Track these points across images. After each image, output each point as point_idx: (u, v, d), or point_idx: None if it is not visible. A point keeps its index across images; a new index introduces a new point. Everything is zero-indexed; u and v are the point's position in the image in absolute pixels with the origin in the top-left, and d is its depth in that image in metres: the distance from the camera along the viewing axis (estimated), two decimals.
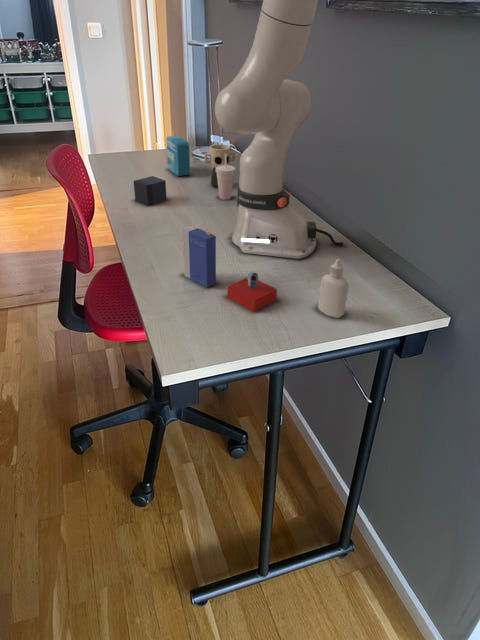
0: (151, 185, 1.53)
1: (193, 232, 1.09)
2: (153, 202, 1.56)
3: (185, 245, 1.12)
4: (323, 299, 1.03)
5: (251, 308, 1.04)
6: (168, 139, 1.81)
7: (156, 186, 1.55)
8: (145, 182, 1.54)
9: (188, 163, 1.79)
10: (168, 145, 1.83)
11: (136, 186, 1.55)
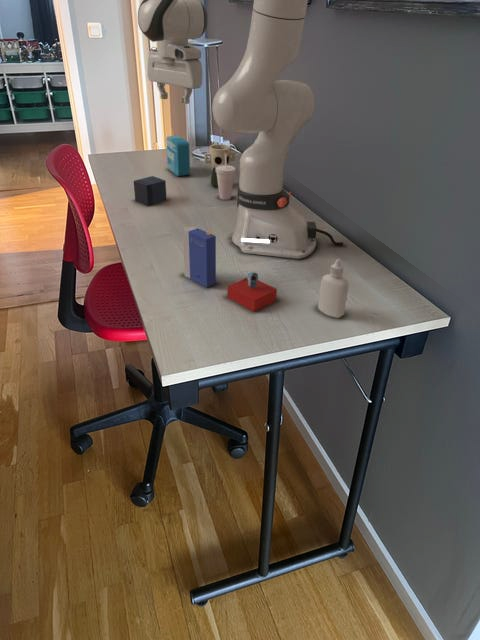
0: (151, 185, 1.53)
1: (193, 232, 1.09)
2: (153, 202, 1.56)
3: (185, 245, 1.12)
4: (323, 299, 1.03)
5: (251, 308, 1.04)
6: (168, 139, 1.81)
7: (156, 186, 1.55)
8: (145, 182, 1.54)
9: (188, 163, 1.79)
10: (168, 145, 1.83)
11: (136, 186, 1.55)
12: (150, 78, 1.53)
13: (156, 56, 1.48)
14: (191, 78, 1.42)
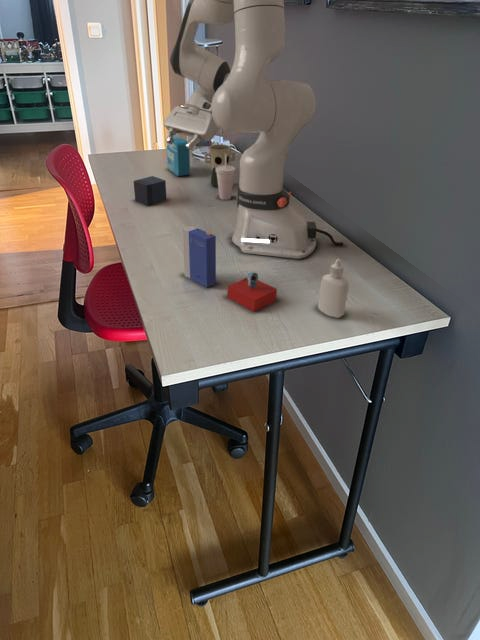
0: (151, 185, 1.53)
1: (193, 232, 1.09)
2: (153, 202, 1.56)
3: (185, 245, 1.12)
4: (323, 299, 1.03)
5: (251, 308, 1.04)
6: None
7: (156, 186, 1.55)
8: (145, 182, 1.54)
9: (188, 163, 1.79)
10: (168, 145, 1.83)
11: (136, 186, 1.55)
12: (166, 122, 1.63)
13: (182, 108, 1.61)
14: (207, 126, 1.52)
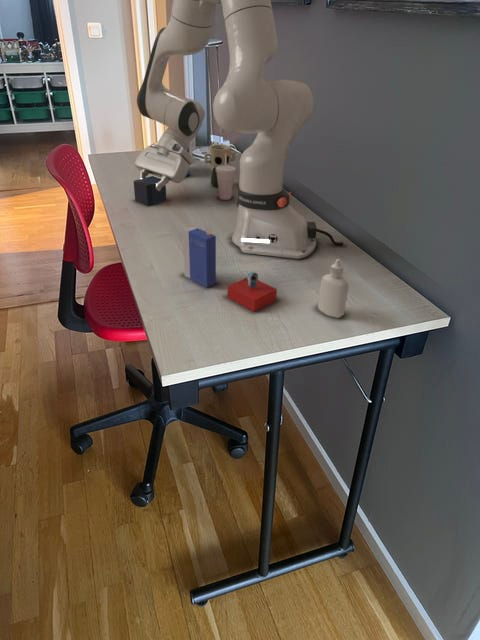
0: (151, 185, 1.53)
1: (193, 232, 1.09)
2: (153, 202, 1.56)
3: (185, 245, 1.12)
4: (323, 299, 1.03)
5: (251, 308, 1.04)
6: None
7: None
8: (145, 182, 1.54)
9: None
10: None
11: (136, 186, 1.55)
12: (136, 162, 1.60)
13: (153, 148, 1.59)
14: (176, 169, 1.50)
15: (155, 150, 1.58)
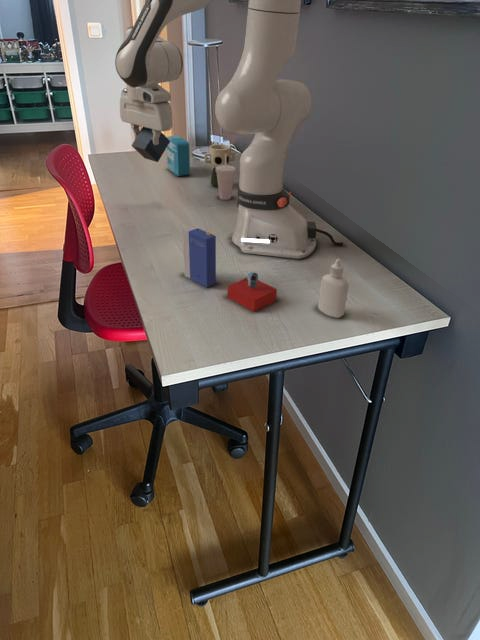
0: (148, 144, 1.47)
1: (193, 232, 1.09)
2: (160, 155, 1.51)
3: (185, 245, 1.12)
4: (323, 299, 1.03)
5: (251, 308, 1.04)
6: None
7: None
8: (142, 143, 1.48)
9: (188, 163, 1.79)
10: (168, 145, 1.83)
11: (136, 149, 1.50)
12: (122, 119, 1.50)
13: (127, 98, 1.45)
14: (160, 121, 1.39)
15: (130, 100, 1.45)
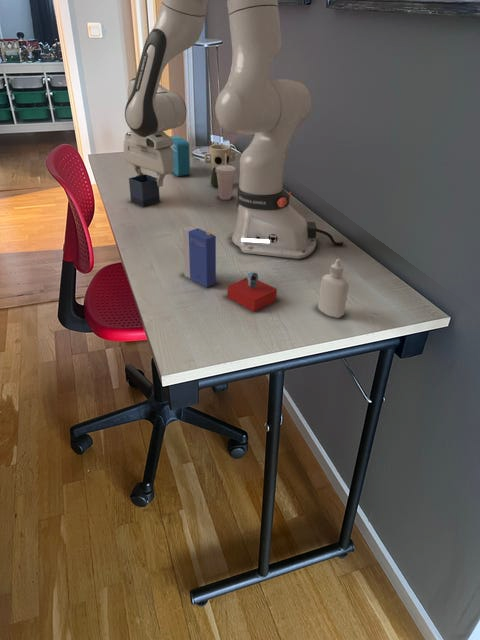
0: (144, 200, 1.53)
1: (193, 232, 1.09)
2: (158, 195, 1.57)
3: (185, 245, 1.12)
4: (323, 299, 1.03)
5: (251, 308, 1.04)
6: None
7: (145, 194, 1.53)
8: (138, 199, 1.55)
9: (188, 163, 1.79)
10: None
11: None
12: (126, 160, 1.57)
13: (131, 141, 1.52)
14: (162, 166, 1.46)
15: (134, 143, 1.51)
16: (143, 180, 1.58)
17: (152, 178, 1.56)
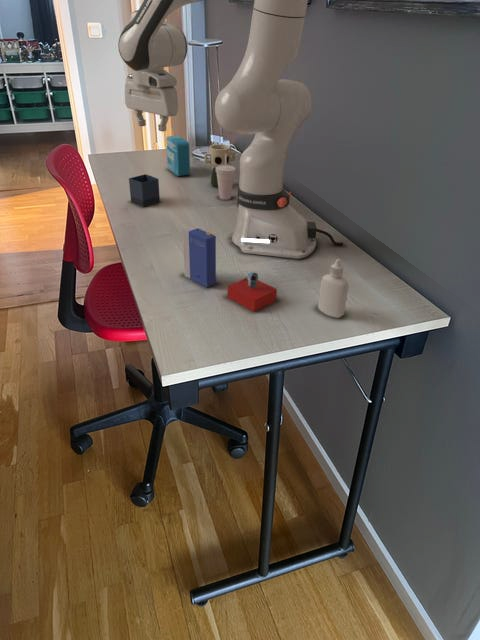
0: (144, 200, 1.53)
1: (193, 232, 1.09)
2: (158, 195, 1.57)
3: (185, 245, 1.12)
4: (323, 299, 1.03)
5: (251, 308, 1.04)
6: (168, 139, 1.81)
7: (145, 194, 1.53)
8: (138, 199, 1.55)
9: (188, 163, 1.79)
10: (168, 145, 1.83)
11: None
12: (127, 105, 1.49)
13: (132, 83, 1.44)
14: (165, 106, 1.38)
15: (135, 85, 1.44)
16: (143, 180, 1.58)
17: (152, 178, 1.56)
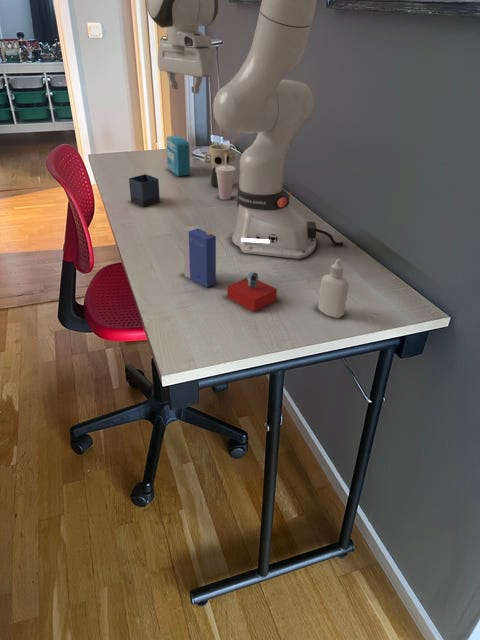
0: (144, 200, 1.53)
1: (193, 232, 1.09)
2: (158, 195, 1.57)
3: (185, 245, 1.12)
4: (323, 299, 1.03)
5: (251, 308, 1.04)
6: (168, 139, 1.81)
7: (145, 194, 1.53)
8: (138, 199, 1.55)
9: (188, 163, 1.79)
10: (168, 145, 1.83)
11: None
12: (160, 67, 1.50)
13: (166, 45, 1.45)
14: (200, 66, 1.39)
15: (169, 47, 1.45)
16: (143, 180, 1.58)
17: (152, 178, 1.56)
